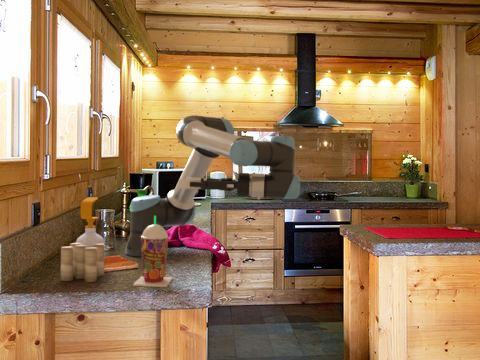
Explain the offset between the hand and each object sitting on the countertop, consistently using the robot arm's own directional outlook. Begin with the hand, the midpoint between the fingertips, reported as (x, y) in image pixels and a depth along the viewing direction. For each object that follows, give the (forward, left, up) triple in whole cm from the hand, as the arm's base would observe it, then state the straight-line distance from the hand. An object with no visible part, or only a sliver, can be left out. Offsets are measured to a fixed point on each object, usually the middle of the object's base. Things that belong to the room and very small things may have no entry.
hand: (182, 182), depth 148 cm
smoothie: (+5, -8, -30) cm, 32 cm away
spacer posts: (+2, -31, -31) cm, 44 cm away
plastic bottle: (-59, -28, -31) cm, 73 cm away
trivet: (+5, -8, -31) cm, 32 cm away
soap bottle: (-9, -33, -31) cm, 46 cm away
